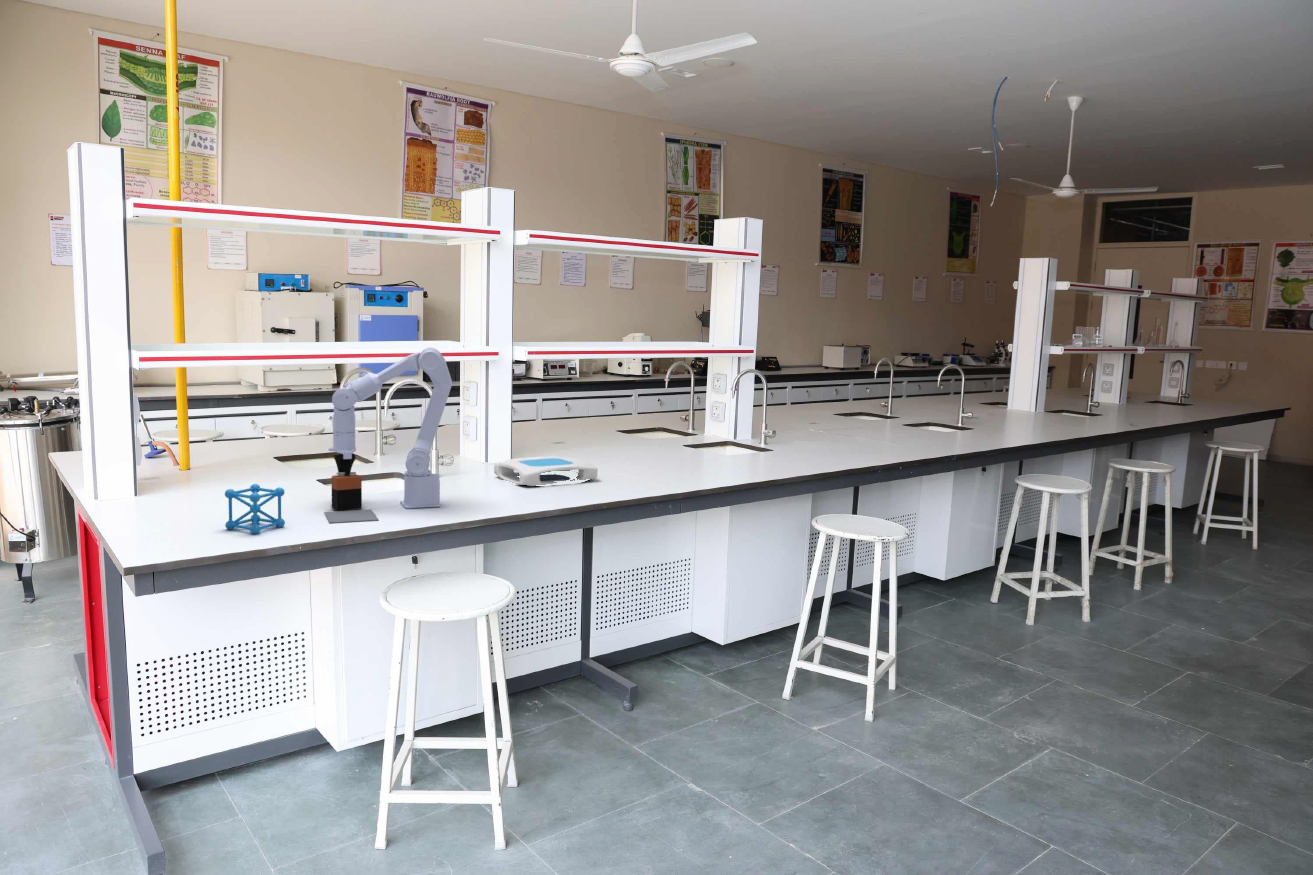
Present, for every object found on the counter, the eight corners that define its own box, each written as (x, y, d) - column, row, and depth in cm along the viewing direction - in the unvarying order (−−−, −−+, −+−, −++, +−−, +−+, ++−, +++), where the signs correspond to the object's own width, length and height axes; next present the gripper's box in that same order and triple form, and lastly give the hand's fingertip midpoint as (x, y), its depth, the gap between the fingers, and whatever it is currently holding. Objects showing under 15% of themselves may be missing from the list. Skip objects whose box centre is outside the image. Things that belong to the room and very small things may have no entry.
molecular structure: (223, 530, 210) (222, 489, 209) (255, 521, 220) (255, 482, 218) (255, 535, 207) (254, 494, 206) (287, 527, 216) (286, 487, 215)
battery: (331, 509, 236) (330, 472, 235) (355, 506, 241) (355, 470, 240) (337, 511, 233) (337, 474, 232) (362, 508, 238) (362, 472, 237)
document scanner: (598, 482, 294) (598, 464, 293) (524, 489, 277) (525, 470, 276) (564, 471, 310) (564, 454, 309) (493, 477, 293) (493, 459, 292)
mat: (371, 510, 237) (371, 509, 237) (378, 520, 227) (378, 519, 227) (324, 512, 232) (324, 511, 232) (329, 523, 221) (329, 522, 221)
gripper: (325, 428, 244) (325, 476, 245) (331, 435, 231) (331, 486, 233) (352, 428, 247) (352, 475, 249) (359, 435, 234) (359, 485, 236)
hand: (344, 480), depth 241 cm, fingers closed
